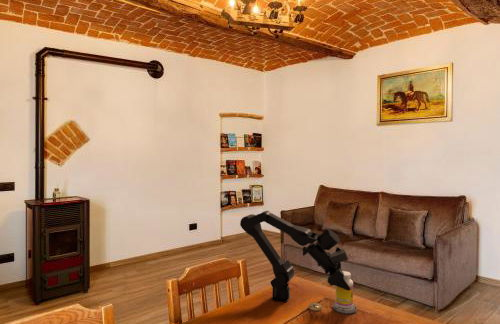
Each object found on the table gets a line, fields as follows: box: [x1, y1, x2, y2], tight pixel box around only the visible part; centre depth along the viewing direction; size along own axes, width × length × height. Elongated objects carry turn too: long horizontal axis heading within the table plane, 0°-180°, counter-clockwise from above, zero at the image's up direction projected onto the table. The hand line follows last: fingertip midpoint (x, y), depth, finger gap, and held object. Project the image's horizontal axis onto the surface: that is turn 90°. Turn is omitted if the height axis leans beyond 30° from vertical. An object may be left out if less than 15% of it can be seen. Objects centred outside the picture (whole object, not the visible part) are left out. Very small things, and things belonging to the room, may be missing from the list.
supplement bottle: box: [334, 270, 354, 308], centre depth 139 cm, size 7×7×13 cm
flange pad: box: [332, 302, 357, 315], centre depth 139 cm, size 9×9×1 cm
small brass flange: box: [308, 302, 323, 312], centre depth 139 cm, size 5×5×1 cm
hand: (348, 285), depth 138 cm, fingers open, 8 cm apart
